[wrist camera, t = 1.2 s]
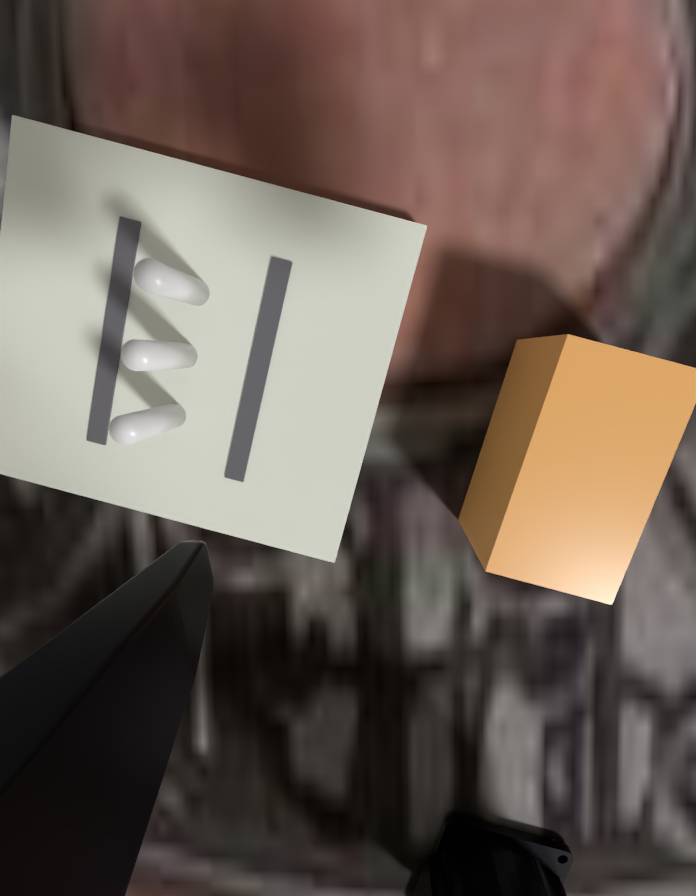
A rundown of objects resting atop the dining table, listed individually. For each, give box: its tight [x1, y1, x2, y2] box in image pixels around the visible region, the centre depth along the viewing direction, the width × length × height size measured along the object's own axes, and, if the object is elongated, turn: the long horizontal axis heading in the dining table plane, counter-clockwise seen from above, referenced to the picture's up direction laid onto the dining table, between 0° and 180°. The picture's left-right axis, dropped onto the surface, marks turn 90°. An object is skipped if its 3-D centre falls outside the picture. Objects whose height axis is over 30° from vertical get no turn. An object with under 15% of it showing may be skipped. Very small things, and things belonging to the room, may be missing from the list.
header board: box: [0, 115, 427, 563], centre depth 17 cm, size 16×14×5 cm
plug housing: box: [458, 334, 696, 605], centre depth 17 cm, size 8×4×5 cm, turn 165°
